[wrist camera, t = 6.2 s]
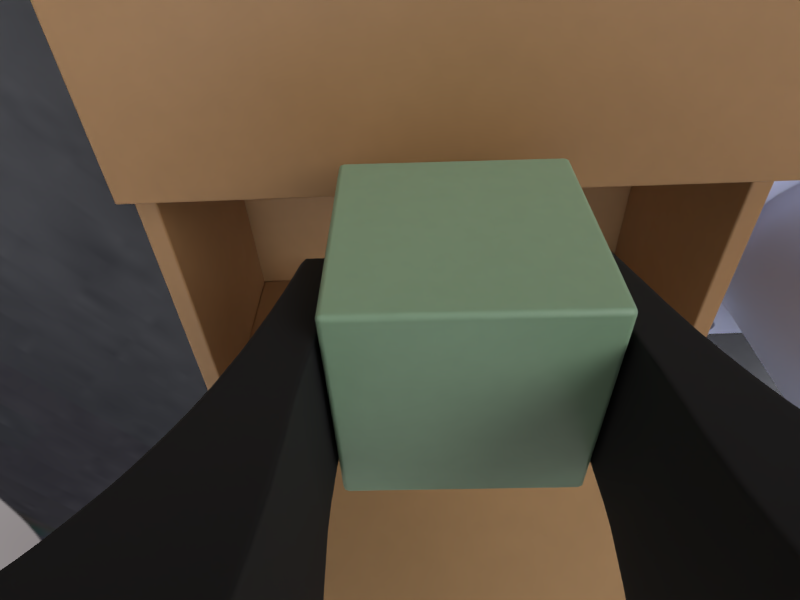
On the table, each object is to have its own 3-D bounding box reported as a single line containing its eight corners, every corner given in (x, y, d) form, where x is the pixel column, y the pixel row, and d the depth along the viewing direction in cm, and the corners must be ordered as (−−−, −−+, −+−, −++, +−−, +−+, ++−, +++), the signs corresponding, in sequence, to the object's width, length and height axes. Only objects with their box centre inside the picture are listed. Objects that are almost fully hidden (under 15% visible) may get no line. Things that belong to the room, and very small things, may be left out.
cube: (569, 155, 10) (642, 311, 7) (539, 323, 13) (583, 489, 10) (338, 162, 10) (312, 318, 7) (356, 327, 13) (343, 493, 10)
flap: (687, 420, 17) (682, 426, 17) (212, 433, 17) (216, 438, 18) (802, 767, 12) (792, 766, 12) (145, 775, 12) (152, 774, 13)
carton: (616, 271, 22) (687, 426, 17) (256, 283, 23) (211, 439, 17) (778, -342, 12) (1105, -456, 6) (103, -304, 12) (-136, -382, 7)
